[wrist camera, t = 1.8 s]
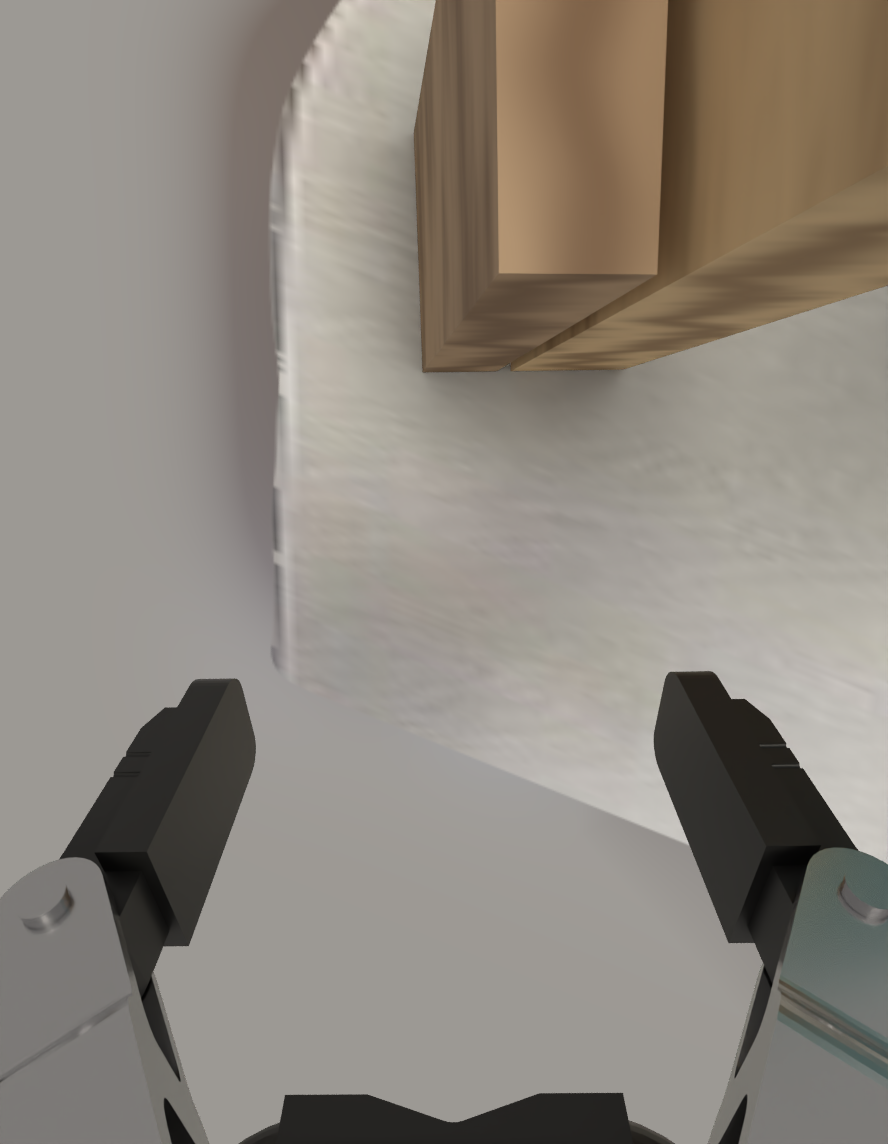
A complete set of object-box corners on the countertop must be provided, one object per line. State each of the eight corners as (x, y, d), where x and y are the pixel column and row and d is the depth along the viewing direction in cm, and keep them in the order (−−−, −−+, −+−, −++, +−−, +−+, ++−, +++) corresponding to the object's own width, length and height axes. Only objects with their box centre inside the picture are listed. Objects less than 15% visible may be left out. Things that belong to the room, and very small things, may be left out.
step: (493, 136, 37) (680, -309, 15) (496, 371, 39) (657, 274, 18) (413, 133, 36) (491, -336, 15) (422, 372, 39) (498, 273, 17)
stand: (630, 141, 38) (1886, -1309, 7) (623, 369, 41) (1481, 96, 10) (509, 136, 37) (1327, -1604, 6) (511, 371, 40) (1062, 70, 8)
